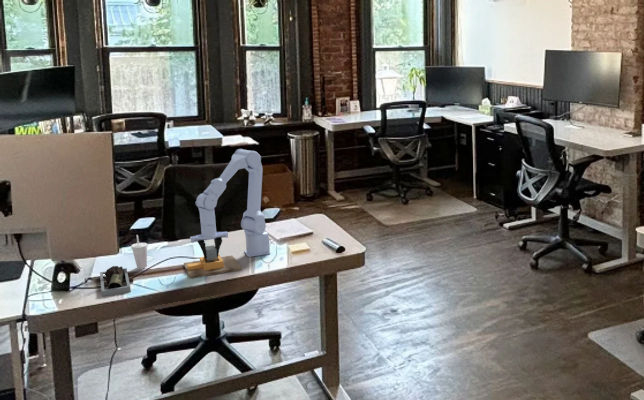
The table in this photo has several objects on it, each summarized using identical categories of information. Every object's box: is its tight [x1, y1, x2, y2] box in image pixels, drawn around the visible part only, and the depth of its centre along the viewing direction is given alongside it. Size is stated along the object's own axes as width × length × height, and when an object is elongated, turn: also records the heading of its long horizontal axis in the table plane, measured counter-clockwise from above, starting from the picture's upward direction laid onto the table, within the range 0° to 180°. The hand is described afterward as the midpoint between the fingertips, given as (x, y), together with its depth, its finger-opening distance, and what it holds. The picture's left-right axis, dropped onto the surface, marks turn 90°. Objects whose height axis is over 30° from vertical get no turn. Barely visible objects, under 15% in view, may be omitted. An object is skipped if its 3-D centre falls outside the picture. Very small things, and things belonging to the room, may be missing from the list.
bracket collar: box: [187, 254, 224, 270], centre depth 252 cm, size 13×9×2 cm, turn 110°
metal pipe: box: [104, 265, 125, 289], centre depth 240 cm, size 18×7×6 cm, turn 13°
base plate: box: [183, 254, 242, 279], centre depth 253 cm, size 20×16×1 cm
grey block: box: [205, 244, 217, 263], centre depth 253 cm, size 4×5×6 cm
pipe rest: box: [99, 267, 132, 297], centre depth 240 cm, size 10×21×2 cm, turn 20°
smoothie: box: [130, 234, 149, 270], centre depth 255 cm, size 6×6×14 cm
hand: (211, 256), depth 252 cm, fingers closed on grey block, 4 cm apart
